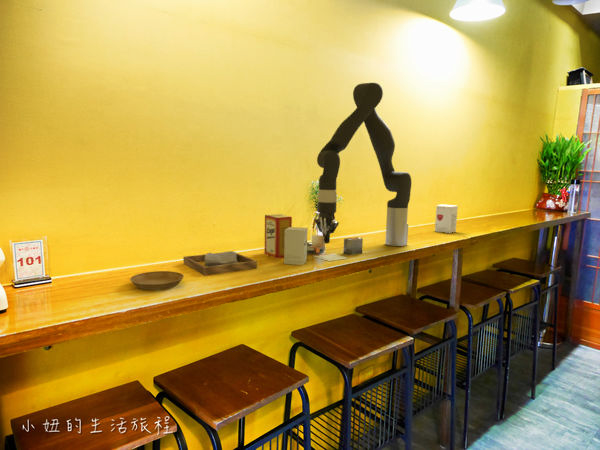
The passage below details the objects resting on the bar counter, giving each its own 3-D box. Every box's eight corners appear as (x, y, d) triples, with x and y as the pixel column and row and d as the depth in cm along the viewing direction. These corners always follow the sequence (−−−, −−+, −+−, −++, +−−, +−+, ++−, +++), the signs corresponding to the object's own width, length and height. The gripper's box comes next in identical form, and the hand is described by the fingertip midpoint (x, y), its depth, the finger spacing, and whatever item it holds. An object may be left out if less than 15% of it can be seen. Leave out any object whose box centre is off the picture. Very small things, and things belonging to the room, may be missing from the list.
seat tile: (332, 253, 170) (332, 253, 170) (348, 258, 162) (348, 257, 162) (312, 256, 164) (312, 255, 164) (328, 261, 156) (328, 260, 156)
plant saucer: (155, 276, 132) (154, 268, 131) (194, 282, 126) (193, 274, 126) (118, 289, 118) (118, 280, 118) (160, 296, 113) (160, 286, 112)
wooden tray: (232, 257, 159) (232, 251, 159) (256, 268, 144) (257, 261, 144) (183, 263, 148) (183, 256, 148) (204, 275, 133) (204, 268, 133)
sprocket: (332, 249, 176) (332, 234, 175) (315, 254, 164) (315, 238, 164) (303, 245, 184) (303, 230, 183) (285, 250, 172) (285, 234, 171)
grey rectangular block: (357, 251, 177) (358, 236, 176) (364, 252, 174) (364, 238, 173) (341, 253, 172) (341, 238, 171) (347, 255, 168) (348, 240, 168)
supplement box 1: (303, 265, 150) (304, 230, 148) (283, 264, 151) (283, 229, 149) (307, 260, 157) (308, 227, 155) (288, 259, 158) (288, 226, 156)
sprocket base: (311, 247, 183) (311, 245, 183) (330, 252, 173) (330, 251, 173) (286, 250, 176) (286, 248, 176) (304, 255, 165) (304, 254, 165)
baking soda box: (291, 256, 164) (291, 215, 161) (276, 258, 160) (277, 216, 158) (278, 252, 171) (278, 213, 169) (264, 253, 168) (264, 214, 166)
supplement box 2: (434, 231, 235) (435, 205, 232) (440, 230, 241) (442, 204, 239) (450, 233, 229) (452, 206, 227) (456, 231, 236) (458, 205, 233)
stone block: (239, 272, 146) (237, 260, 155) (238, 259, 145) (236, 248, 154) (204, 274, 144) (204, 262, 153) (203, 261, 142) (203, 250, 151)
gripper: (345, 201, 166) (343, 244, 168) (324, 199, 177) (323, 239, 179) (330, 202, 162) (329, 246, 164) (309, 199, 172) (309, 241, 175)
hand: (326, 243), depth 172 cm, fingers closed
